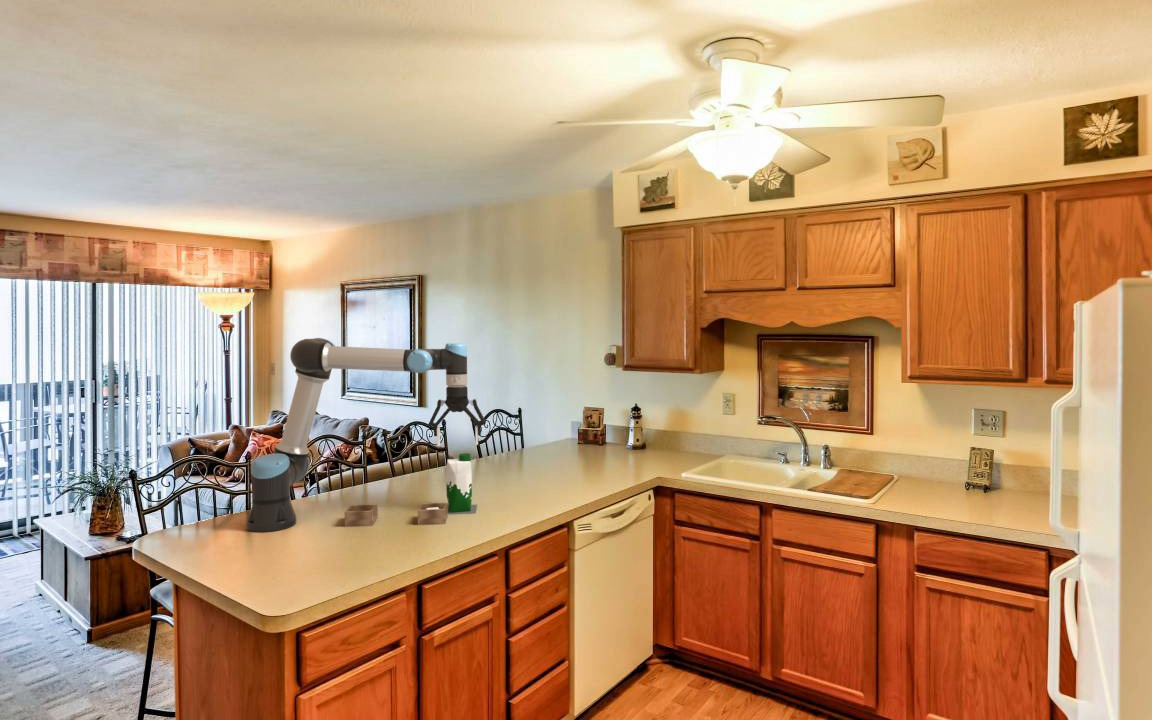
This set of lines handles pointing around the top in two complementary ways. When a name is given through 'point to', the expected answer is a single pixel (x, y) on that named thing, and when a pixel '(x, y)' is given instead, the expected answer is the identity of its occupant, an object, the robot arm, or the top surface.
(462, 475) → the soya milk
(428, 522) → the crate
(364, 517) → the crate
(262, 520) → the robot arm
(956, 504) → the top surface
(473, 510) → the coaster
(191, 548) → the top surface
